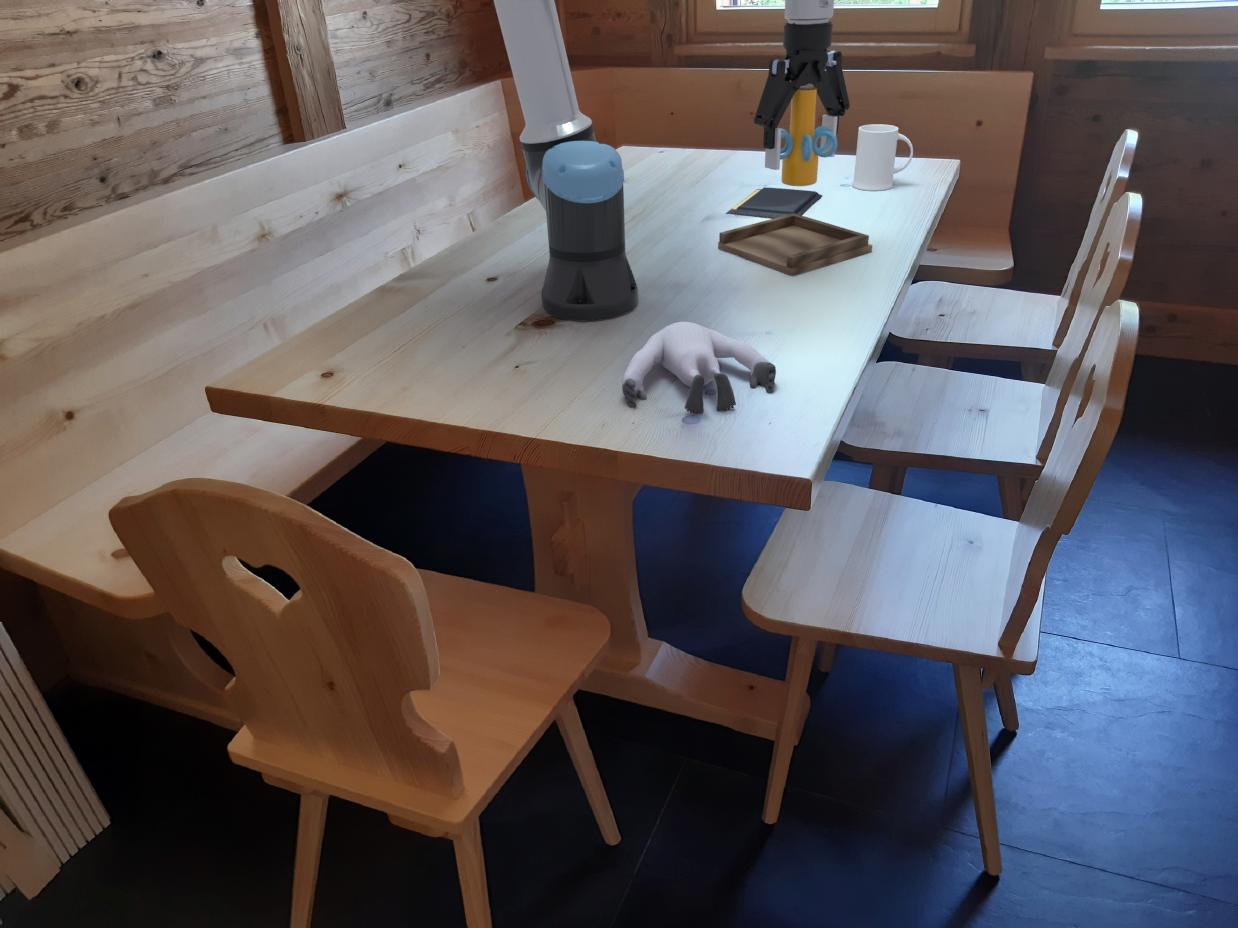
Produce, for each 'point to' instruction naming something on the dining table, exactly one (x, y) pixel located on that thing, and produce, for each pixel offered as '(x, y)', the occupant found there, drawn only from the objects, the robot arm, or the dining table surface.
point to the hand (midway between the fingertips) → (800, 162)
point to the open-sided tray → (794, 243)
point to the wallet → (775, 203)
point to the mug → (877, 157)
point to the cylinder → (804, 141)
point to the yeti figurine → (695, 364)
